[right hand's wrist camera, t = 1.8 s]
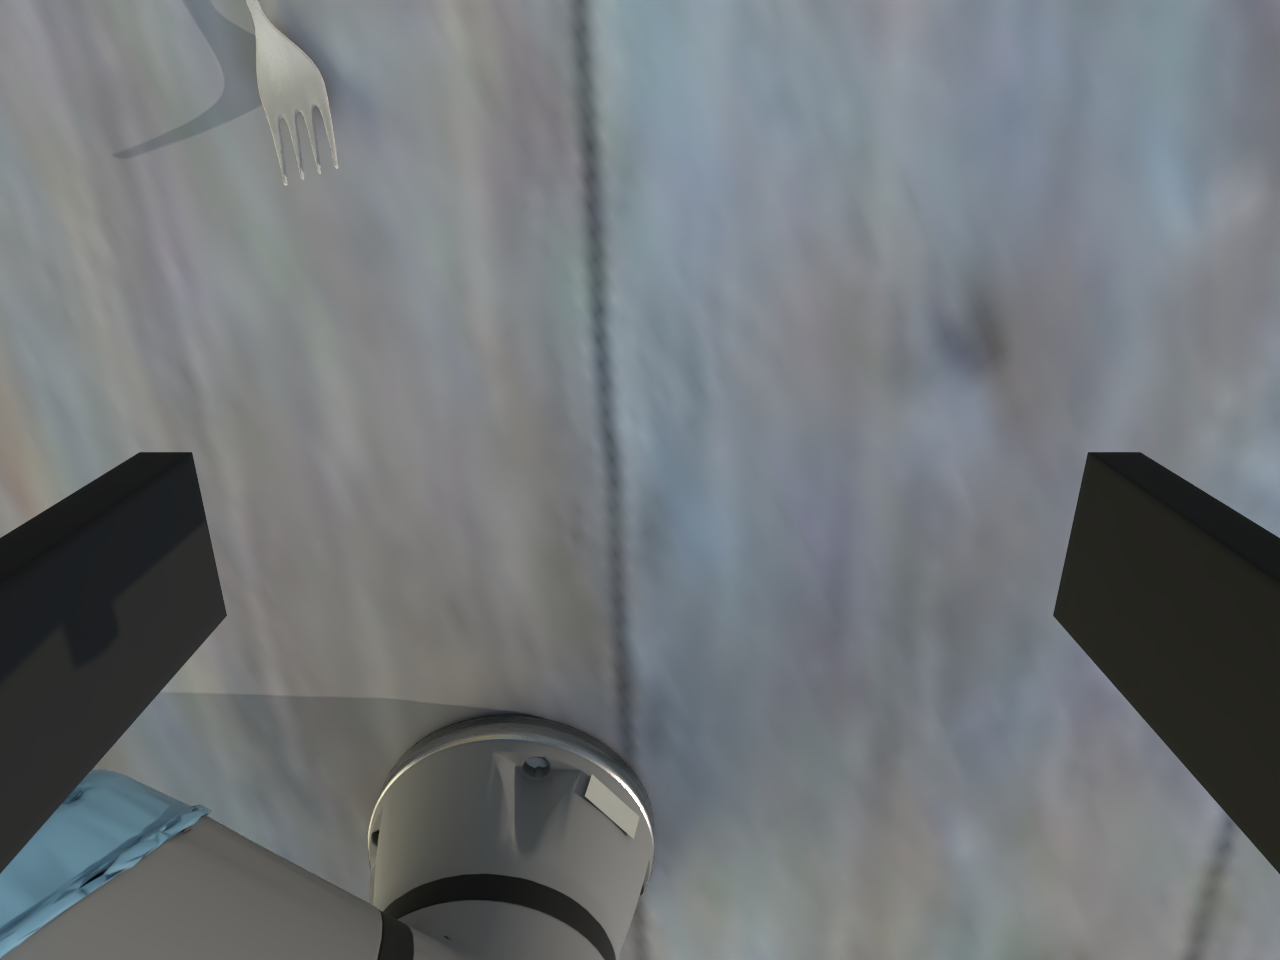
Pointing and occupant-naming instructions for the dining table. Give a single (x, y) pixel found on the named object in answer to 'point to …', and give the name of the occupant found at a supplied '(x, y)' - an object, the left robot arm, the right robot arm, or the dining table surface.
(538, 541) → the dining table surface
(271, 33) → the fork
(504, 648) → the dining table surface
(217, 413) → the dining table surface
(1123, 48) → the dining table surface
